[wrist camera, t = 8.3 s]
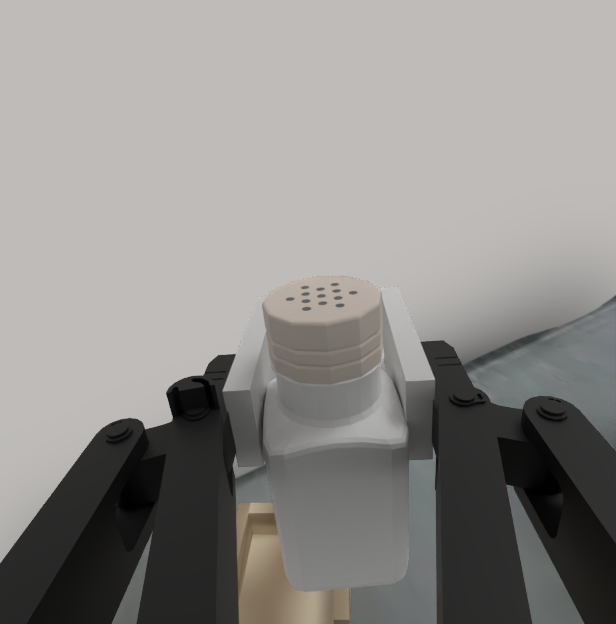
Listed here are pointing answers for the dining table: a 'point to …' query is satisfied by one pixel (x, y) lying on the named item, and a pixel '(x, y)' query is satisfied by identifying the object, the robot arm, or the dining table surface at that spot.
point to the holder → (277, 578)
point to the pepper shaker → (334, 437)
